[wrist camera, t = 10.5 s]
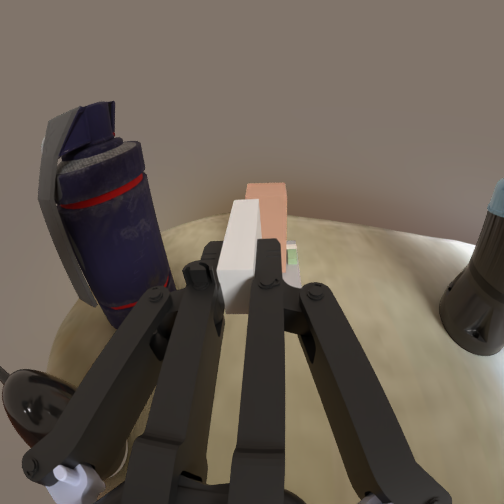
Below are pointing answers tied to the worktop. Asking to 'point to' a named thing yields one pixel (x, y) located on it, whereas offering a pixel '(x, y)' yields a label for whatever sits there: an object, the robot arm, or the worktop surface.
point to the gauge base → (292, 267)
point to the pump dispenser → (40, 406)
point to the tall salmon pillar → (272, 213)
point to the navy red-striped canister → (101, 211)
